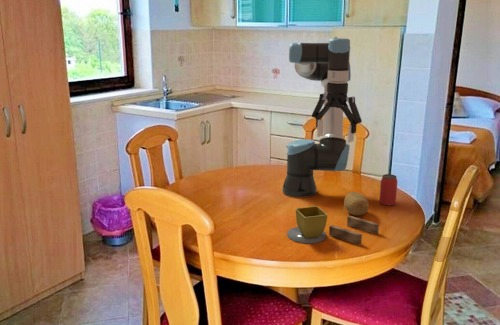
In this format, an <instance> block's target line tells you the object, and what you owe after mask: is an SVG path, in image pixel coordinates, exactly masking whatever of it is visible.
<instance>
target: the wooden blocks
mask: <svg viewBox="0 0 500 325" xmlns="http://www.w3.org/2000/svg"><path fill="white" fill-rule="evenodd" d="M346 223H347V224H346V226H347V227H351V228H354V229H358V230H360V231H363V232H366V233H369V234H374V235H378V234H379V231H380V230H379V227H380V223H376V222H373V221H370V220H366V219H362V218H360V217H355V216H352V215H348V216H347V220H346ZM328 232H329V234H328V236H330V237H332V238H336V239H339V240H342V241H344V242H348V243H352V244H353V245H358V246H360V245H361V244H362V239H363V238H362V237H363V235H362V233H359V232H356V231H352V230H349V229H346V228H342V227H340V226H336V225H334V224H331V225H329V230H328Z"/></svg>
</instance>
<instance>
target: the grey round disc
mask: <svg viewBox="0 0 500 325" xmlns="http://www.w3.org/2000/svg"><path fill="white" fill-rule="evenodd" d="M286 232H287V233H286V236H287V238H288V239H289V240H290V241H293V242H295V243H300V244H309V245H310V244H317V243H321V242H323V241H325V240H326V239H327V233H326V231H325V230H324V231H323V233H322V234H321V235H320V236H319V237H312V238H306V237H305V236H304V235H303V234H302V233H301V232H300V230H299V228H298V226H296V227H293V228H290V229H288V231H286Z"/></svg>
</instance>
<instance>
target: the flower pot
mask: <svg viewBox="0 0 500 325" xmlns="http://www.w3.org/2000/svg"><path fill="white" fill-rule="evenodd" d="M294 209H295V219H296V220H295V221H296V224H297V227H298V228H299V230H300V232H301V233H302V234H303V235H304V236H305V237H306V238H312V237H319V236H320V235H321V234H322V233H323V231H324V232H325V228H326V224H327V222H328V213H326V211H324V210H323V209H322V208H320V207H319V206H317V205H316V206H306V207H296V208H294Z"/></svg>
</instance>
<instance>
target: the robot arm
mask: <svg viewBox="0 0 500 325" xmlns="http://www.w3.org/2000/svg"><path fill="white" fill-rule="evenodd" d="M288 49H289V50H288V51H289V52H288V61H289V63H292V64H294V70H295V72H296V73H297V75H298V76H300V77H302V78H304V79H306V80H309V81H317V82H318V81H319V82H320V84H321V86H322V87H323V90H324V91H323V92H324V93H320V94H319V97H318V101H317V103H316V106H315V107H314V110H313V111H312V114H311V117H312V118H314V119H315V128H317V130H316V134H317V135H316V136H317V138H320V137H321V138H320V139H319V140H318V142H319V143H316V142H315V141H314V140H313V139H298V140H293V141H291V142H290V143H288V145H287V149H286V150H287V152H286V155H287V158H286V159H287V160H286V163H287V164H286V176H285V178H284V183H283V185H282V193H283V194H284V195H286V196H289V197H293V198H308V197H312V196H315V195H316V194H317V190H318V189H317V185H316V181H315V178H314V171H323V172H324V171H327V172H330V171H331V172H343V171H345V170H346V169H347V165H348V160H349V153H350V145H349V143H352V142H354V140H355V134H356V133H357V125H358V124H361V123H362V122H363V121H362V117H361V115H360V113H359V109H358V106H357V104H356V97H355V96H350V97H349V96H348V92H349V91H348V90H349V83H348V82H349V81H351V76H352V75H351V63H350V53H351V40H350V39H349V38H347V37H346V38H345V37H342V38H341V37H340V38H334V37H333V38H330V39H329V41H328V42H299V41H298V42H292V43H290V45H289V48H288ZM344 115H345V117H346V118H347V119H348V122H349V123H350V124H348V133H347V134H348V137H347V140H346V138H345V137H344ZM347 142H348V143H347Z"/></svg>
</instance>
